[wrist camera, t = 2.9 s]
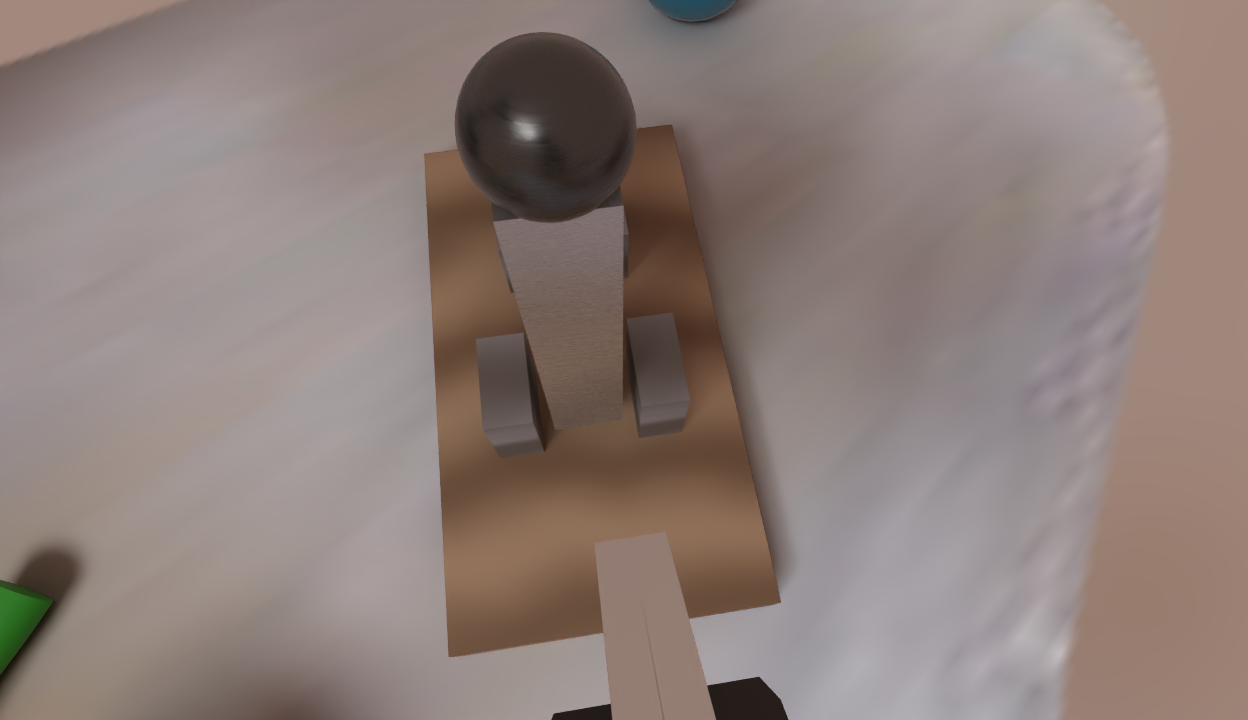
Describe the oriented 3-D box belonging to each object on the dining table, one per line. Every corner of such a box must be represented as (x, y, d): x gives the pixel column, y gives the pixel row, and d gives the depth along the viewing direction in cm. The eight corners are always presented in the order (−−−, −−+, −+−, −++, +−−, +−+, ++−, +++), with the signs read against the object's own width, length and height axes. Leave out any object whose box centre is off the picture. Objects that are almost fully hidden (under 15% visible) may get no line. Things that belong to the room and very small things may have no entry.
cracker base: (771, 605, 31) (828, 588, 22) (459, 656, 30) (395, 659, 21) (669, 148, 41) (681, 16, 32) (433, 176, 40) (382, 49, 31)
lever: (635, 429, 30) (654, 127, 13) (545, 442, 30) (439, 153, 12) (621, 347, 32) (622, -22, 14) (536, 359, 31) (430, -2, 14)
